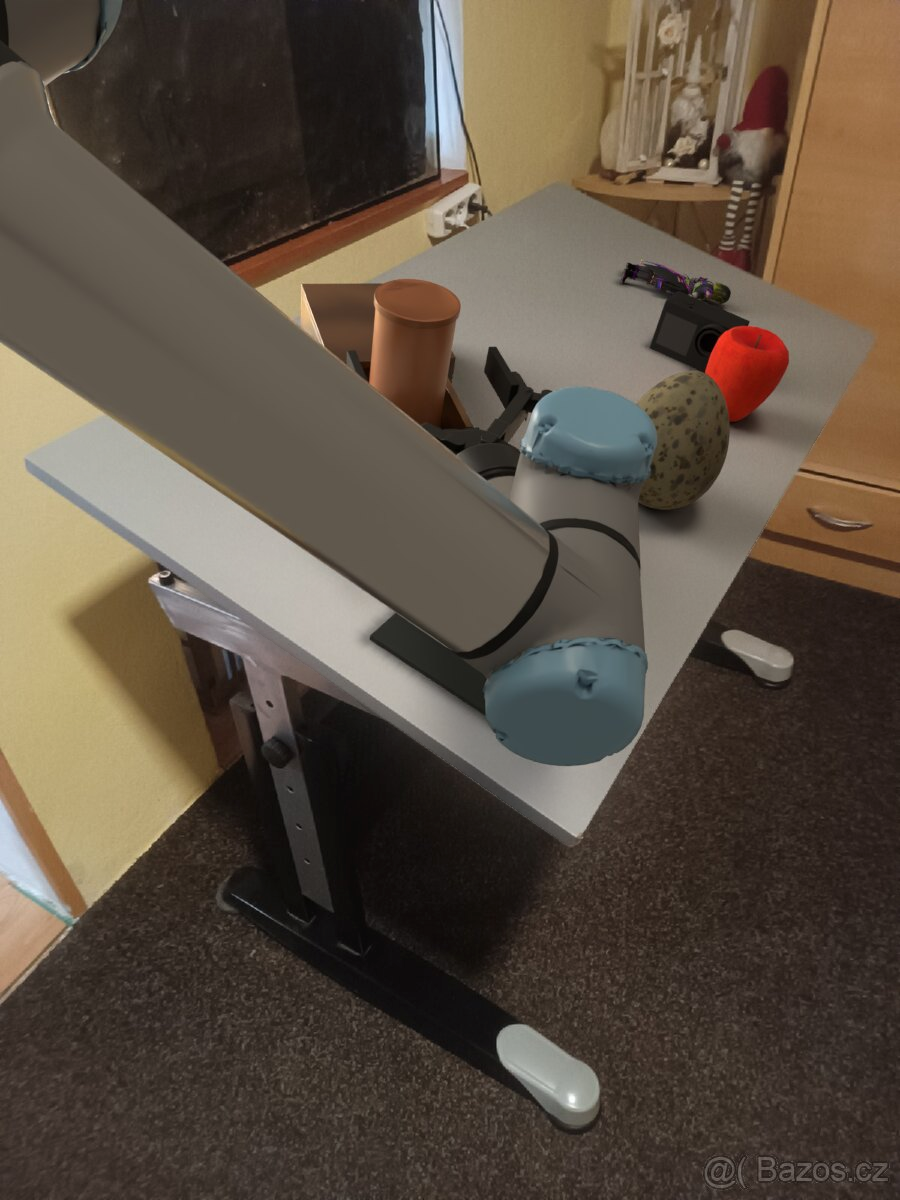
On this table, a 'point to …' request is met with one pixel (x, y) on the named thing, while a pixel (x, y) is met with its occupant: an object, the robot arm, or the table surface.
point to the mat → (432, 660)
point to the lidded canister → (413, 345)
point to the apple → (747, 367)
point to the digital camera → (691, 329)
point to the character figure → (677, 282)
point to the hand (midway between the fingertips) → (421, 361)
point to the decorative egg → (685, 439)
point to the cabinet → (344, 319)
